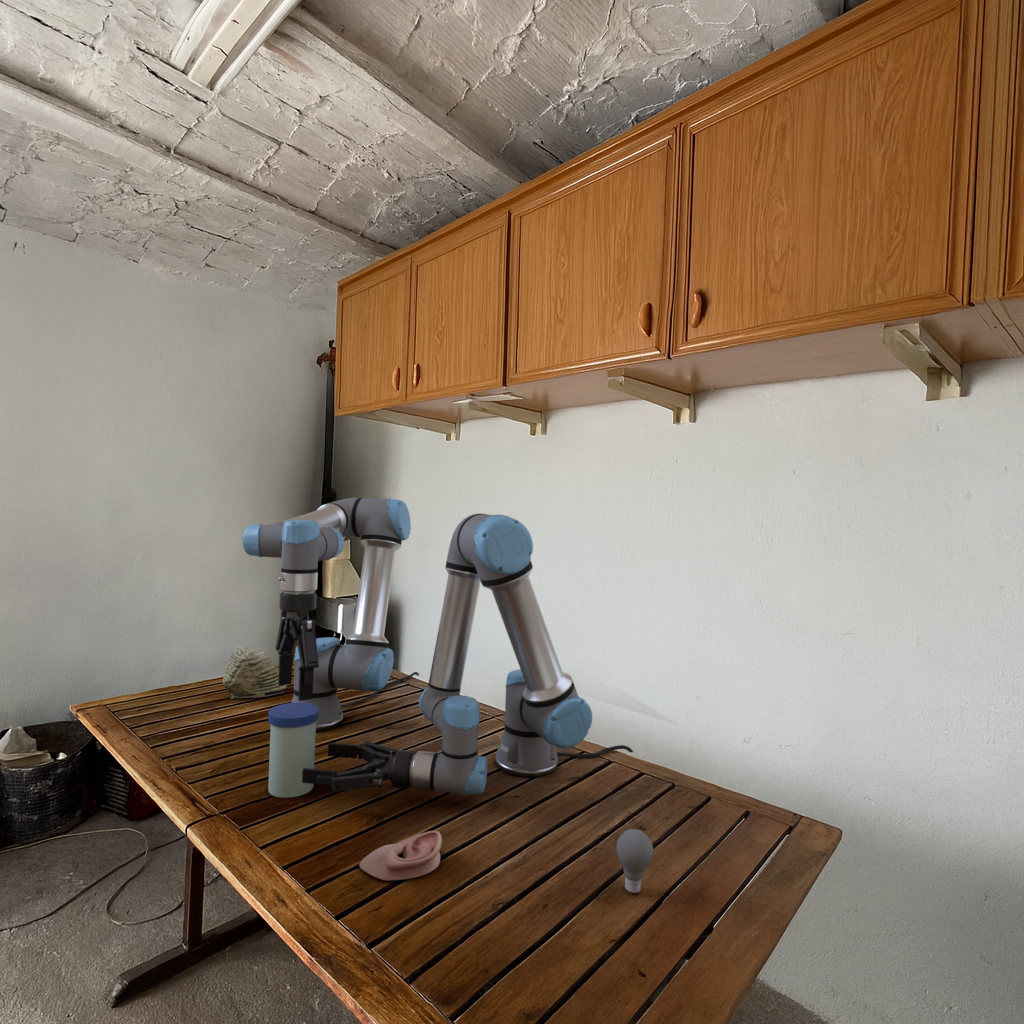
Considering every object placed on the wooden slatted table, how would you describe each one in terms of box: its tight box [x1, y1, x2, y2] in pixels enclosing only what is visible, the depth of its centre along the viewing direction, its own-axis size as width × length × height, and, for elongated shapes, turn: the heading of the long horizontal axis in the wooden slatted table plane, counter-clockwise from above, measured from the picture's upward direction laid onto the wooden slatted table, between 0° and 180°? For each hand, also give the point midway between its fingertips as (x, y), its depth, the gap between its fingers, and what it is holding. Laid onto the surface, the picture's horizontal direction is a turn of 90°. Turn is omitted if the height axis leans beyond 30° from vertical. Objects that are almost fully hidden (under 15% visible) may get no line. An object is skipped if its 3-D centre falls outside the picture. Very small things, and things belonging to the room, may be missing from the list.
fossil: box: [222, 646, 288, 699], centre depth 198 cm, size 9×18×15 cm, turn 132°
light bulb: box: [615, 828, 654, 894], centre depth 106 cm, size 6×6×10 cm
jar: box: [267, 722, 317, 799], centre depth 137 cm, size 9×9×16 cm
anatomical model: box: [359, 830, 443, 882], centre depth 111 cm, size 13×4×12 cm
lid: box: [267, 702, 319, 728], centre depth 137 cm, size 10×10×2 cm
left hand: (294, 691), depth 137 cm, fingers open, 12 cm apart
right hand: (316, 761), depth 136 cm, fingers open, 13 cm apart
